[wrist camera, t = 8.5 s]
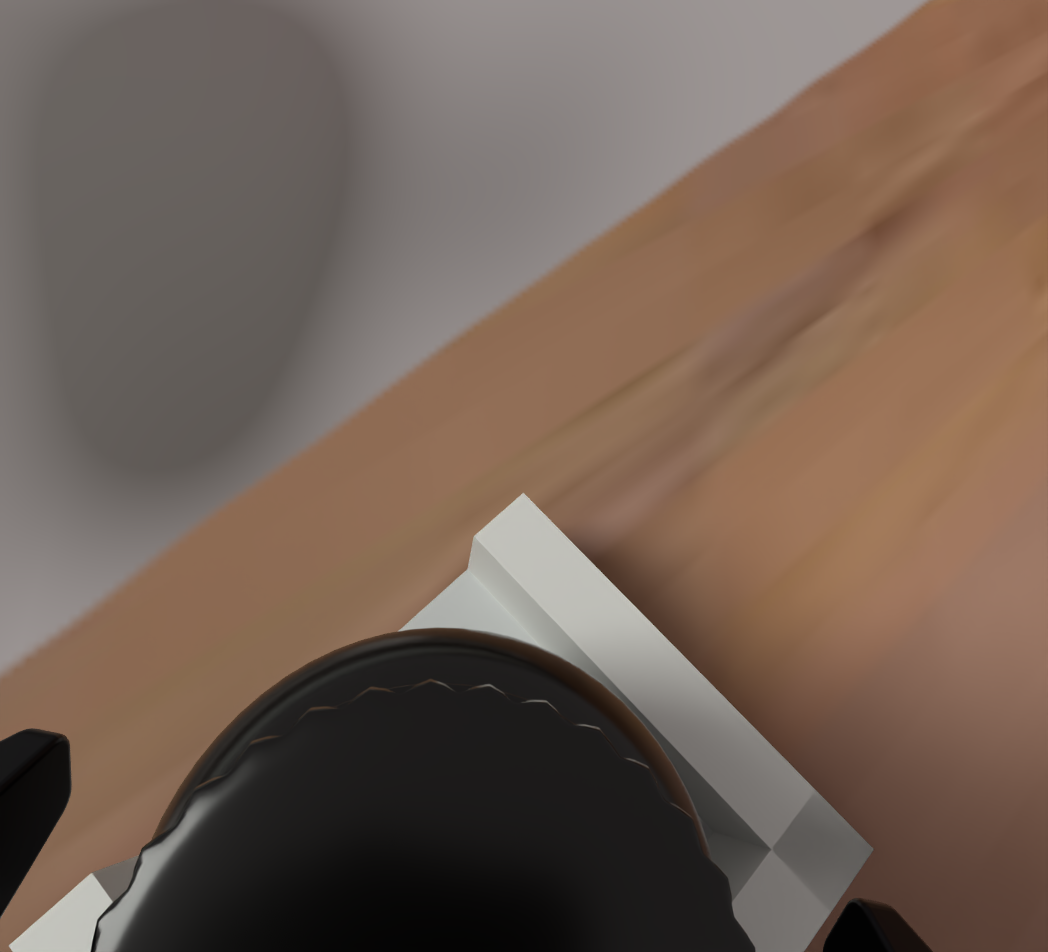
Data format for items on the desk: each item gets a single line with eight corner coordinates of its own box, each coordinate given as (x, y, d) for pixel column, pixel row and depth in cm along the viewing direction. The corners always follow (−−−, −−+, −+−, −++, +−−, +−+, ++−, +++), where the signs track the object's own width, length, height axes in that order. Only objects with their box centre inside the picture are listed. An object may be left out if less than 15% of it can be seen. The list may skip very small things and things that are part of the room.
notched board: (788, 829, 17) (873, 849, 14) (413, 1332, 13) (407, 1531, 10) (507, 537, 19) (523, 493, 16) (104, 901, 15) (8, 945, 12)
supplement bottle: (522, 639, 17) (678, 443, 6) (637, 934, 15) (1168, 1411, 4) (241, 749, 16) (-215, 747, 5) (328, 1096, 14) (-111, 2554, 3)
